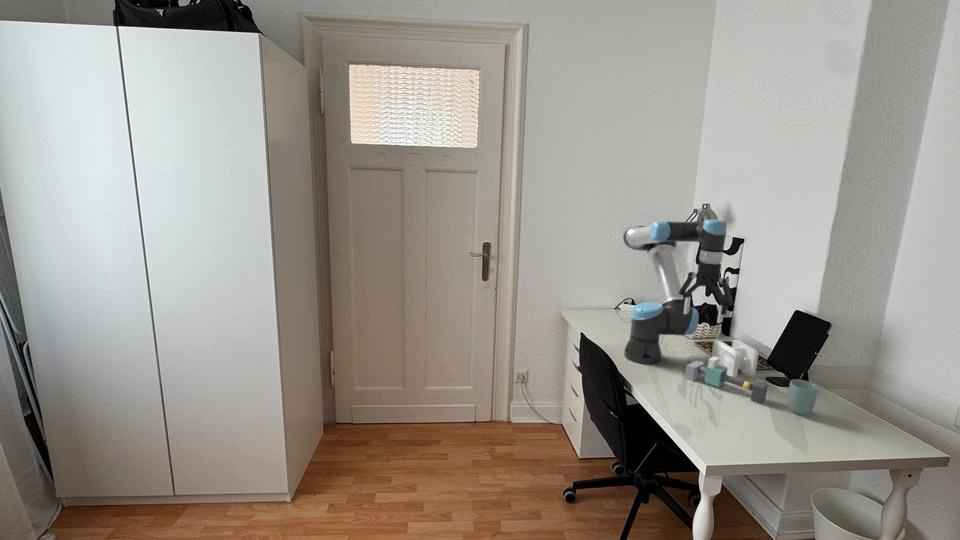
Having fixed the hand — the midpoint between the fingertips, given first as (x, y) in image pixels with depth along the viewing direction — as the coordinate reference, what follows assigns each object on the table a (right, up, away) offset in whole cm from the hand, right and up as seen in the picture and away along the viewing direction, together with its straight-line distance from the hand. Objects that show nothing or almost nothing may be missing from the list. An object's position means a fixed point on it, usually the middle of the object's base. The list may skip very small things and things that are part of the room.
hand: (702, 317), depth 173 cm
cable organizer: (+17, -23, +10) cm, 31 cm away
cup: (+23, -30, -19) cm, 42 cm away
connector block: (+14, -28, -12) cm, 33 cm away
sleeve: (+4, -25, -1) cm, 25 cm away
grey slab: (-1, -24, +5) cm, 24 cm away
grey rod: (+6, -23, -4) cm, 24 cm away
